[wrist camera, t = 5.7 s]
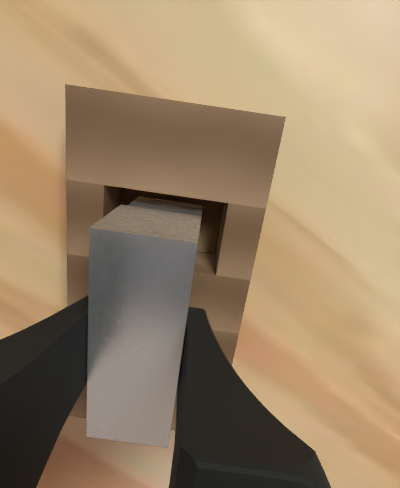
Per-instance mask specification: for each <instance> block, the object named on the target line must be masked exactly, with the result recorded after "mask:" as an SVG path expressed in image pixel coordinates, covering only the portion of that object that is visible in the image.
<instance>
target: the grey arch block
mask: <svg viewBox="0 0 400 488" xmlns="http://www.w3.org/2000/svg"><path fill="white" fill-rule="evenodd" d="M202 209H203V205H197V204H190V203H183V202H176V201H169V200H162V199H156V198H149V197H142V196H139V197H137V198H136V199H135V200H134V201H132V202H131V203H130V204H129V205H119V206H118V207H117V208H115V209H114V210H113V211H111V212H110V213H109V214H107V215H106V216H104V217H103V218H102V219H100V220H99V221H98V222H96V223H95V224H94V225H92V226H91V227H89V291H88V358H87V425H86V437H93V438H100V439H107V440H115V441H122V442H129V443H136V444H144V445H151V446H158V447H165V448H168V445H169V438H170V431H171V424H172V417H173V411H174V404H175V397H176V390H177V383H178V376H179V369H180V362H181V356H182V349H183V342H184V335H185V328H186V321H187V314H188V307H189V300H190V294H191V287H192V280H193V273H194V266H195V259H196V252H197V245H198V238H199V231H200V224H201V217H202Z"/></svg>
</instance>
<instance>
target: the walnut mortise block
mask: <svg viewBox="0 0 400 488" xmlns="http://www.w3.org/2000/svg"><path fill="white" fill-rule="evenodd" d="M65 95H66V188H67V281H68V306H70V305H72V304H73V303H75V302H77V301H78V300H80V299H82V298H84V297H86V296H87V295H88V291H89V227H91V226H92V225H94V224H95V223H96V222H98V221H99V220H100V219H102V218H103V217H104V216H106V215H107V214H109V213H110V212H111V211H113V210H114V209H115V208H117V207H118V206H119V205H120V204H121V188H128V189H135V190H141V191H148V192H155V193H162V194H169V195H176V196H183V197H189V198H196V199H203V200H210V201H217V202H224V207H223V213H222V219H221V225H220V230H219V236H218V242H217V248H216V254H210V253H203V252H196V259H195V266H194V273H193V280H192V287H191V294H190V300H189V307H195V308H202V309H204V310H205V311H206V314H207V317H208V320H209V323H210V326H211V328H212V330H213V333H214V335H215V337H216V339H217V341H218V343H219V345H220V347H221V349H222V351H223V352H224V354H225V356H226V358H227V359H228V361H229V363H230V364H231V366H232V362H233V357H234V352H235V348H236V343H237V339H238V334H239V329H240V325H241V320H242V316H243V311H244V306H245V302H246V297H247V293H248V288H249V283H250V279H251V274H252V270H253V265H254V260H255V256H256V251H257V247H258V242H259V237H260V233H261V228H262V224H263V219H264V214H265V210H266V205H267V201H268V196H269V191H270V187H271V182H272V178H273V173H274V168H275V164H276V159H277V155H278V150H279V145H280V141H281V136H282V132H283V127H284V122H285V118H286V117H281V116H274V115H268V114H261V113H254V112H248V111H241V110H234V109H227V108H221V107H214V106H207V105H201V104H194V103H187V102H181V101H174V100H167V99H160V98H154V97H147V96H140V95H134V94H127V93H120V92H113V91H107V90H100V89H93V88H87V87H80V86H73V85H67V84H65ZM176 406H177V390H176V397H175V404H174V411H173V417H172V424H171V429H172V430H176ZM69 415H70V416H78V417H85V418H87V383H86V385H85V387H84V389H83V391H82V392H81V394H80V396H79V398H78V400H77V401H76V403H75V405H74V407H73V409H72V410H71V412H70V414H69Z"/></svg>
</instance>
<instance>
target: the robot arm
mask: <svg viewBox="0 0 400 488" xmlns="http://www.w3.org/2000/svg"><path fill="white" fill-rule="evenodd" d="M87 358H88V295H87V296H86V297H84V298H82V299H80V300H78V301H77V302H75V303H73V304H72V305H70V306H68V307H66V308H64V309H63V310H61V311H59V312H57V313H55V314H54V315H52V316H50V317H48V318H46V319H44V320H42V321H40V322H38V323H36V324H34V325H32V326H30V327H28V328H26V329H24V330H22V331H20V332H17V333H15V334H13V335H11V336H8V337H6V338H3V339H1V340H0V488H36V487H37V484H38V482H39V479H40V477H41V475H42V472H43V470H44V468H45V465H46V463H47V461H48V458H49V456H50V454H51V451H52V449H53V447H54V445H55V442H56V440H57V438H58V436H59V433H60V431H61V429H62V427H63V425H64V423H65V421H66V419H67V417H68V416H69V414H70V412H71V410H72V409H73V407H74V405H75V403H76V401H77V400H78V398H79V396H80V394H81V392H82V391H83V389H84V387H85V385H86V383H87ZM169 488H331V487H330V484H329V482H328V479H327V477H326V474H325V472H324V470H323V468H322V466H321V463H320V461H319V459H318V457H317V455H316V452H315V451H314V450H313V449H312V448H310V447H309V446H308V445H307V444H306V443H304V442H303V441H302V440H301V439H299V438H298V437H297V436H296V435H295V434H293V433H292V432H291V431H290V430H289V429H287V428H286V427H285V426H284V425H283V424H282V423H281V422H280V421H279V420H278V419H277V418H275V417H274V416H273V415H272V414H271V413H270V412H269V411H268V410H267V409H266V408H265V407H264V406H263V405H262V404H261V402H260V401H259V400H258V399H257V398H256V397H255V396H254V395H253V394H252V392H251V391H250V390H249V389H248V388H247V386H246V385H245V384H244V383H243V381H242V380H241V379H240V377H239V376H238V374H237V373H236V372H235V370H234V369H233V367H232V366H231V364H230V363H229V361H228V359H227V358H226V356H225V354H224V352H223V351H222V349H221V347H220V345H219V343H218V341H217V339H216V337H215V335H214V333H213V330H212V328H211V326H210V323H209V320H208V317H207V314H206V311H205V310H204V309H202V308H195V307H188V314H187V321H186V328H185V335H184V342H183V349H182V356H181V362H180V369H179V376H178V383H177V406H176V430H175V444H174V453H173V461H172V469H171V477H170V484H169Z"/></svg>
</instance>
